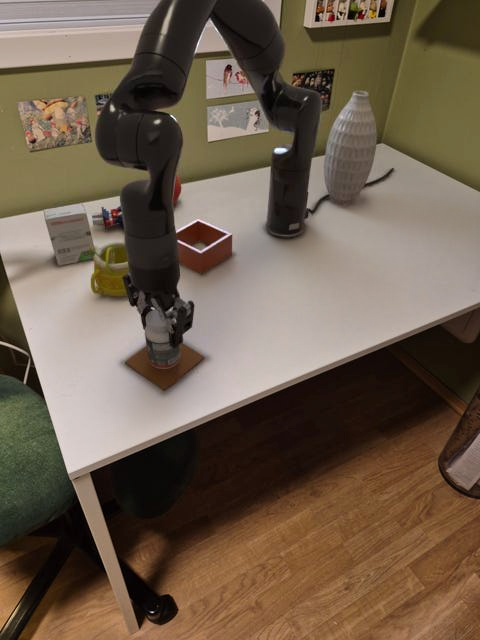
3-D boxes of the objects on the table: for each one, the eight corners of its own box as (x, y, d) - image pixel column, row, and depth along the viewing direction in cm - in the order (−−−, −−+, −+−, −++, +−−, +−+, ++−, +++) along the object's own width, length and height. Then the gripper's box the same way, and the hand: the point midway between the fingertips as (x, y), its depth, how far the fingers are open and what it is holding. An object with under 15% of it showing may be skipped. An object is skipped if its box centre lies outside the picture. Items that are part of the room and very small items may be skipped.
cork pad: (165, 334, 88) (165, 332, 88) (204, 358, 84) (204, 356, 84) (124, 363, 83) (124, 361, 82) (164, 391, 78) (164, 389, 78)
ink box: (93, 248, 110) (83, 202, 102) (97, 259, 107) (87, 212, 99) (55, 255, 107) (42, 208, 100) (57, 266, 104) (44, 219, 96)
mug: (125, 264, 105) (117, 216, 97) (159, 283, 100) (153, 234, 92) (77, 290, 98) (65, 240, 90) (111, 312, 93) (101, 262, 85)
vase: (370, 197, 133) (395, 91, 115) (353, 215, 125) (376, 104, 107) (330, 185, 138) (346, 82, 120) (311, 202, 130) (326, 94, 111)
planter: (198, 238, 114) (197, 218, 111) (232, 254, 109) (232, 233, 106) (167, 256, 108) (165, 236, 104) (201, 274, 103) (200, 253, 100)
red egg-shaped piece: (177, 212, 124) (175, 173, 117) (147, 209, 125) (143, 170, 118) (185, 198, 130) (183, 160, 123) (156, 195, 131) (153, 157, 124)
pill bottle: (149, 347, 85) (143, 306, 78) (181, 346, 85) (177, 304, 79) (147, 371, 81) (141, 329, 74) (180, 370, 81) (177, 327, 74)
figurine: (90, 204, 117) (150, 198, 120) (93, 219, 120) (151, 212, 123) (92, 221, 111) (155, 214, 114) (95, 236, 114) (156, 229, 117)
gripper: (206, 260, 67) (208, 343, 78) (138, 226, 74) (149, 308, 85) (169, 284, 63) (177, 369, 74) (100, 245, 69) (117, 329, 80)
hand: (162, 336), depth 79 cm, fingers open, 6 cm apart
